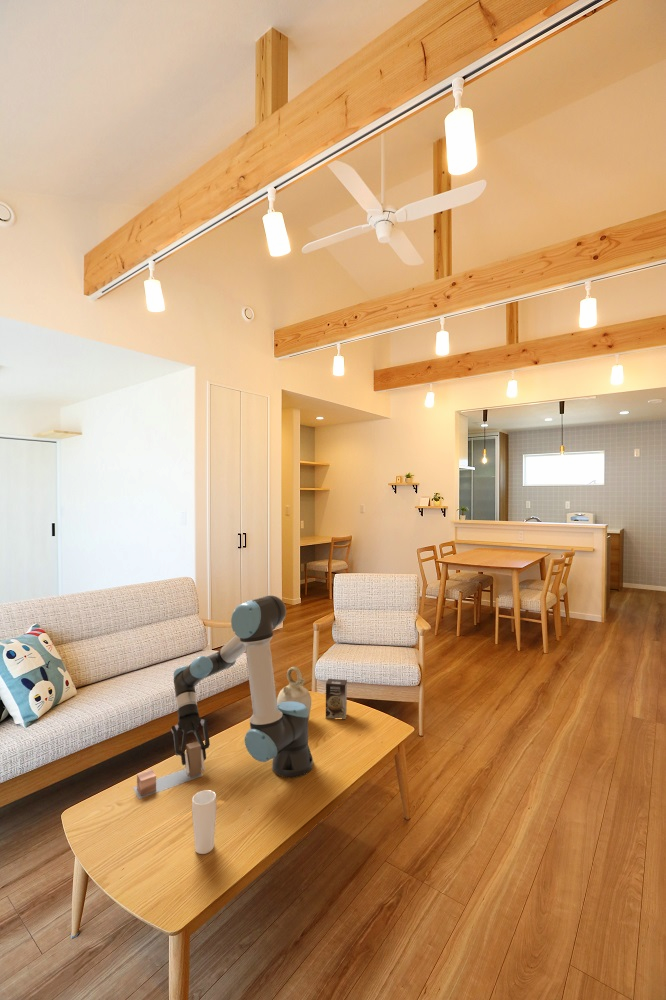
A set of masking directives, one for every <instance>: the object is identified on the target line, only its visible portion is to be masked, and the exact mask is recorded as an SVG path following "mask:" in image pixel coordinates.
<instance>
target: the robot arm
mask: <svg viewBox="0 0 666 1000" xmlns="http://www.w3.org/2000/svg"><path fill="white" fill-rule="evenodd" d="M286 616H287V606H286V604H285V603H284V601H283V600H282V599H281V598H280V597H278V596H274V595H265V596H263V597H259V598H255V599H251V600H247V601H244V602H243V603H240V604H238V605H237V606H236V607H235V608H234V610H233V612H232V614H231V618H230V624H231V629H232V631H233V632H234V636H233V637H231V638H230V639H229V641H227V642H226V643H225V644H223V646H222V647H221V648H220V649H219V650H218V651H216V652H215V653H212V654H210V655H206V656H205V655H200V656H198V657H197V658H195V659H194V660H193V661H192V662H191V663H190V664H189V665H183V666H179V668H176V669H175V670H174V671H173V686H174V693H175V695H174V696H175V699H176V700H175V701H176V709H177V719H178V721H177V723H176V724H175V725H172V726H171V729H170V732H171V733H172V736H173V746H174V753H175V754H174V755H175V756H180V758H181V760H180V761H181V765H182V766H184V767H185V768H184V769H186V775H189V765H188V756H187V753H186V744H187V737H188V735H187V734H189V733H193V734H194V736H195V738H196V741H197V742H198V743H199V744H200V745H201V772H204V771H205V769H206V765H205V760H206V759H207V753H206V750H207V749H208V748H209V747H210V745H211V743H210V737H209V736H210V735H209V730H208V723H209V719H208V718H205V719H202V718H201V717H200V715H199V707H198V700H197V693H196V686H197V685H198V684H200V682H201V681H203V680H204V679H206V678H208V677H211V676H213V675H216V674H218V673H220V672H222V671H225V670H228V669H230V668H231V667H234V665H235V664H236V663H237V659H238V658H240V657H241V656H242V655H243V654H244V653H245V654H246V663H247V671H248V679H249V680H248V681H249V689H250V696H251V697H250V699H251V704H252V705H251V707H252V715H251V716H250V717H249V727H250V729H248V730H247V732H246V734H245V735H244V745H245V748H246V750H247V752H248V753H249V755H251V757H252V758H253V759H254V760H256V761H258V762H261V763H265V762H269V761H270V760H272V761H271V762H272V764H271V767H272V768H271V769H272V770H273V772H274V773H275V774H276V775H278V776H279V777H282V776H283V778H288V777H290V779H293V778H298V777H303V776H305V775H307V774H308V773H310V772H311V770H312V769H313V766H314V763H313V762H314V758H313V755H312V751H311V748H310V746H309V720H308V717H309V718H310V715H309V716H308V709H307V707H306V706H305V705H304V704H302V703H299V702H292V701H288V702H282V703H280V704H278V705H277V692H276V685H275V676H274V674H275V673H274V667H273V658H272V650H271V640H272V639H273V637H274V630H275V629H276V628H277V627H278V626H280V625H281V624H282V623H283V621H285V619H286ZM200 724H201V726H202V731H203V738H204V740H203V738H202V736H201V733H200V730H199V725H200ZM179 729H180V731H182V733H183V734H182V740H181V747H180V745H179V736H178V730H179ZM180 748H181V750H180ZM306 773H307V774H306Z"/></svg>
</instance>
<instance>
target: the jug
mask: <svg viewBox="0 0 666 1000" xmlns="http://www.w3.org/2000/svg"><path fill="white" fill-rule="evenodd" d="M292 672H295V675H296V677H297V680H294V679H293V676H292ZM286 679H287V682H288V683H289V684H287V685H286V686H284V687H282V689H280V690H279V692H278V695H277V696H276V699H277V705H278V704H280V703H282V702H288V701H292V702H299V703H302V704H304V705H305V706H306V707H307V709H308V716H309V717H308V721H309V720H310V715H311V708H312V697H311V693H310V692H309V689H308V688H306V687H305V686H304V685H305V683H306V681H307V680H306V679H304V678H303V676H302V672H301V670H300V669H299V668H298V667H296V666H291V667H290V668H288V670H287V672H286Z"/></svg>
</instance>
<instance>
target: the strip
mask: <svg viewBox="0 0 666 1000" xmlns="http://www.w3.org/2000/svg"><path fill="white" fill-rule="evenodd" d="M185 753H187V756H188V765H189V775H186V768H184V769H181V770H177V771H175V772H172V773H169V774H167V775H164V776H160V777H158V778H157V777H156V790H155V791H153V792H150V793H147V794H144V795H142V796H141V795H140V793H139V791H138V789H137V785H136V786H132V788H133V790H134V793H135V794H136V797H137V798H138V800H141V799H144V798H147V797H150V796H151V795H155V794H158V793H160V792H163V791H166V790H167V789H168V790H169V789H171V788H174V787H176V786H179V785H182V784H184V783H187V782H190V781H192V780H194V779H197V778H201V777H203V776H204V775H203V773H202V770H201V745H200V744H199V743H198V741H197V740H196V741H192V742H190V743H186V746H185Z"/></svg>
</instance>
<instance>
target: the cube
mask: <svg viewBox="0 0 666 1000" xmlns="http://www.w3.org/2000/svg"><path fill="white" fill-rule="evenodd" d="M156 779H157V775H156V774H155V771H154V770H153V768H150V769H147V770H143V771H141V772H138V773H136V786H137V789H138V791H139V793H140V795H141V796H142V795H144V794H147V793H150V792H153V791H155V790H156Z"/></svg>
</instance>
